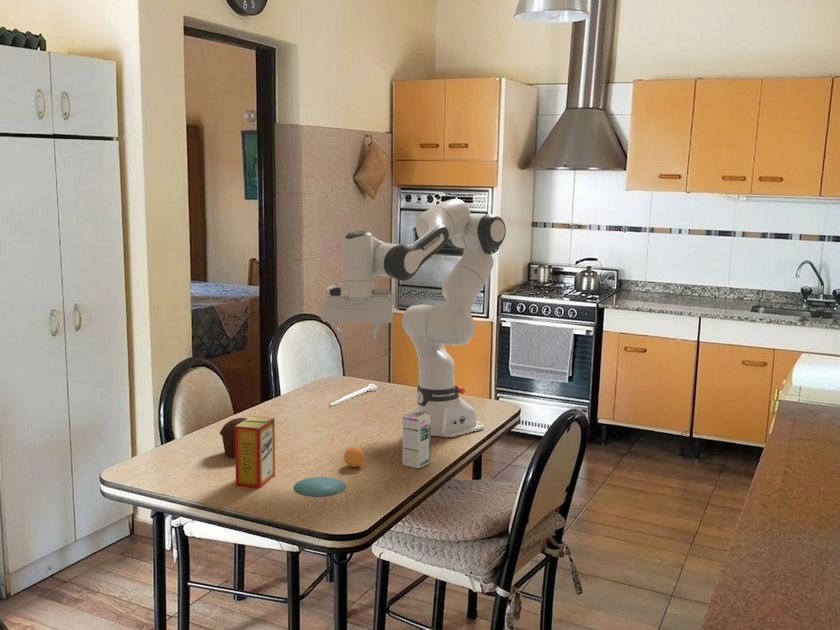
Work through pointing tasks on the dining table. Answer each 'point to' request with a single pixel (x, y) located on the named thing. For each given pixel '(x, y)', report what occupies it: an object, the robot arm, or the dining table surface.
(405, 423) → the syrup box
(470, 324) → the robot arm
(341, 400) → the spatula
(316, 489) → the teal plate
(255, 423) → the baking soda box
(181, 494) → the dining table surface
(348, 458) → the ball
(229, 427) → the muffin
